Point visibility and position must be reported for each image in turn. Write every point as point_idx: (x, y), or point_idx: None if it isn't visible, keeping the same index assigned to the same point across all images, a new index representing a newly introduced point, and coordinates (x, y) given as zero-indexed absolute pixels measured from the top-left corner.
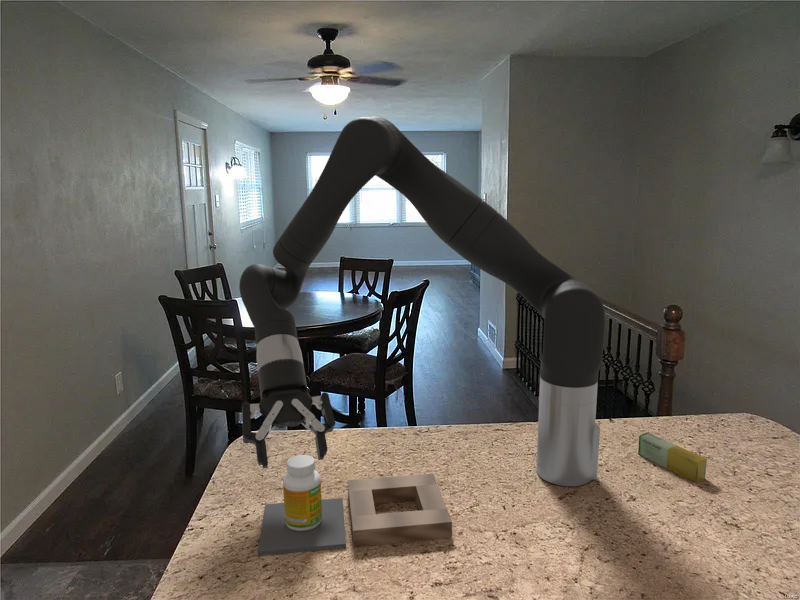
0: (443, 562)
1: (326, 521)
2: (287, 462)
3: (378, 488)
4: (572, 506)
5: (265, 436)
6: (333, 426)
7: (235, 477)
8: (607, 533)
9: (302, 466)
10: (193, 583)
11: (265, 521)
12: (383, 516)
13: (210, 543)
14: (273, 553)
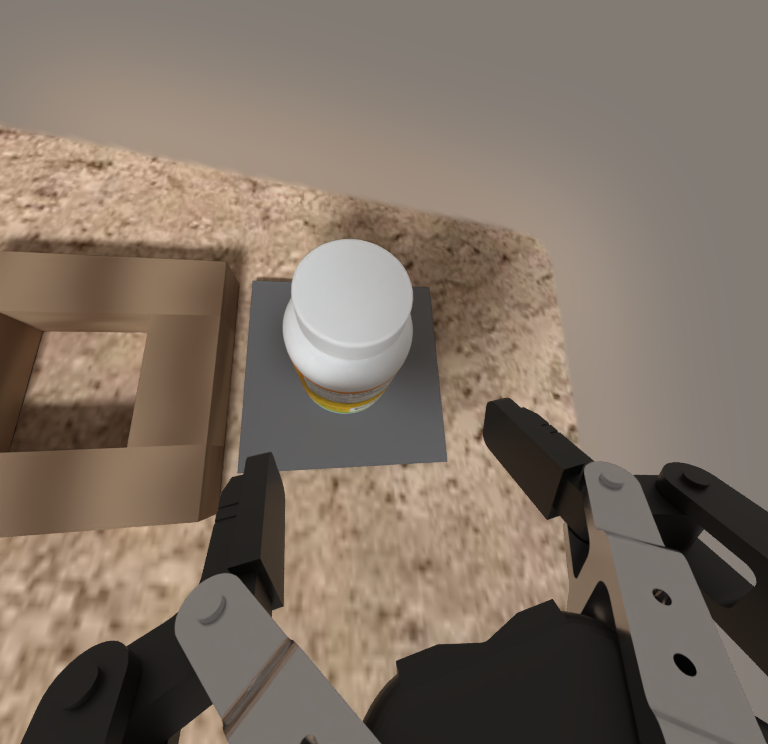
0: (56, 209)
1: (291, 364)
2: (410, 285)
3: (99, 452)
4: None
5: (577, 556)
6: (92, 659)
7: None
8: None
9: (344, 242)
10: (511, 247)
11: (432, 385)
12: (131, 302)
13: (521, 342)
14: None
